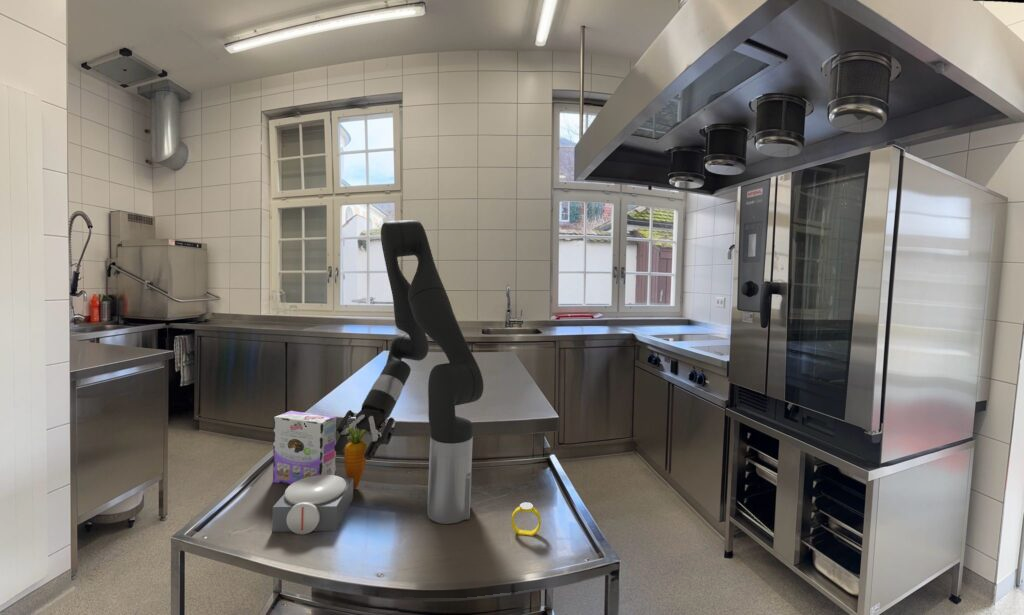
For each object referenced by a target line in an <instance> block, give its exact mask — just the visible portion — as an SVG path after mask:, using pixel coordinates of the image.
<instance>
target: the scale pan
mask: <svg viewBox="0 0 1024 615" xmlns="http://www.w3.org/2000/svg"><path fill="white" fill-rule="evenodd" d="M343 478H344V477H341V476H338V475H336V474H335V475H316V476H311V477H307V478H303V479H301V480H298V481H296V482H294V483H292V484H291V485H288V487H287V488H285V491H284V494H285V499H286V501H287V502H289V503H291V504H294V505H296V504H298V503H302V502H307V503H311V504H313V505H317V504H322V503H325V502H328V501H331V500H333V499H335V498H337V497H339V496H340V495H341V494H342V493H343V492H344V491H345V489H346V482H345V480H344V479H343Z"/></svg>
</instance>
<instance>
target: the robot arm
mask: <svg viewBox="0 0 1024 615" xmlns="http://www.w3.org/2000/svg"><path fill="white" fill-rule="evenodd" d="M380 240H381V249H382V253H383V258H384V262H385V263H384V264H385V267H386V268H385V269H386V273H387V276H388V277H387V278H388V281H389V286H390V290H391V296H392V303H393V313H394V323H395V326H396V328H397V329H398V330H400V331H402V332H404V333H399V334H397V335H396V336H394V337H393V339H392V340H391V343H390V347H389V352H388V356H387V360H386V362H385V363H386V364H385V365H384V367H383V369H382V370H381V372H380V374H379V376H378V378H377V379H376V380H375V381H374V383H373V385H372V386H371V388H370V390H369V391H368V394H367V395H366V397H365V399H364V400H363V402H362V404H361V409H360V411H358V413H357V412H354V411H353V410H351V409H349V410H348V411H347V412H346V414H345V415H344V416H343V418H342V419H341V421H340V423H339V424H338V426H336V433H338V434H339V435H340V436H339V437H338V439H337V440H336V445H335V447H334V448H335V449H334V450H335V451H336V454H342V452H343V451H344V449H345V446H346V445H347V444H348V443H349V440H350V439H349V438H348V436H351V437H352V435H351V434H350V432H349V430H348V429H349V428H350V427H352V428H353V430H354V432H355V434H356V431H355V428H357V429H359V431H360V433H361V432H362V431H363V430H366V432H365V433H364V434H368V435H371V436H372V441H370V443H369V444H368V446H367V449H366V452H365V454H364V457H365V458H366V460H367V461H370V460H372V459H373V457H375V455H376V453H377V452H378V449H379V447H380V446H381V445H387V446H388V445H389V444H390V441H391V438H392V437H393V434H394V432H395V429H396V428H395V423H396V422H397V421H396V419H395V418H393V416H392V417H390V416H391V415H392V413H393V410H394V408H395V406H396V404H397V402H398V401H399V398H400V396H401V394H402V391H403V388H404V386H405V385H406V382H407V381H408V379H409V377H410V374H411V371H412V370H411V367H410V365H409V364H408V363H407V362H406V361H404V360H403V359H405V360H410V361H418V362H420V361H422V360H424V359H425V358H426V357H427V355H428V352H429V350H430V349H429V348H430V346H429V341H428V337H429V338H430V339H431V340H432V341H433V342H434V343H436V345H438V346H439V347H440V349H441V350H442V351H443V352H444V354H445V356H446V358H447V360H448V363H447V362H446V363H445V362H444V363H440V364H436V365H434V366H433V367H432V368H431V371H430V373H429V376H428V382H427V388H428V390H427V394H428V395H427V397H428V405H427V406H428V424H429V428H430V429H429V430H430V432H429V433H430V438H429V456H428V457H429V460H428V462H429V463H428V481H427V482H428V487H427V488H428V489H427V503H426V505H427V510H426V511H427V516H428V518H429V520H431V521H432V522H435V523H437V524H444V525H448V524H449V525H451V524H457V523H459V522H463V521H466V520H470V518H471V516H470V515H471V494H472V492H471V491H472V464H473V463H472V462H473V444H474V442H473V440H474V424H473V422H472V421H471V420H470V419H468V418H465V417H461V416H458V415H456V406H460V405H465V404H470V403H473V402H474V403H475V402H476V401H479V400H480V398H482V396H483V394H484V380H483V375H482V371H481V369H480V366H479V364H478V362H477V360H476V358H475V357H474V355H473V353H472V351H471V349H470V346H469V345H468V343H467V341H466V339H465V336H464V334H463V333H462V332H463V331H462V330H461V327H460V325H459V323H458V321H457V318H456V315H455V312H454V311H453V308H452V304H451V302H450V299H449V296H448V293H447V291H446V288H445V286H444V284H443V282H442V278H441V277H440V274H439V272H438V269H437V266H436V264H435V261H434V257H433V252H432V249H431V246H430V243H429V239H428V236H427V233H426V231H425V227H424V226H423V224H422V223H421V221H420V220H417V219H406V220H405V219H404V220H390V221H385V222H383V223H382V224H381V227H380ZM409 256H410V257H411V256H415V257H416V259H417V267H416V271H415V274H414V276H413V278H412V281H411V283H410V282H409V281H408V280H407V277H405V276H404V273H403V272H402V270H401V268H400V266H399V265H400V264H399V260H398V258H402V257H409ZM351 417H356V419H355V421H353V422H352V423H351V424H349V425H348V427H347V428H346V429H343V428H344V425H347V419H348V418H351ZM383 422H384V423H386V424H385V425H384V429H383V432H382V431H381V432H378V430H379V429H380V430H381V429H382V428H383V427H382V426H380V425H381V424H382V423H383ZM381 427H382V428H381ZM352 438H353V437H352Z"/></svg>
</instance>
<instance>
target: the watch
mask: <svg viewBox="0 0 1024 615" xmlns="http://www.w3.org/2000/svg"><path fill="white" fill-rule="evenodd" d="M520 512H523V513H531V512H532V513H533V514H534V515H536V516H535V517H537V519H538V523H537V525H536V527H535V528H534V529H532V530H528V529H527V530H525V529H519V527H517V525H516V524H515V523H516V522H515V516H516V515H517V513H520ZM541 519H542V518H541V514H540V512H539V511H538V509H536V507H534V505H533V504H532V503H531V502H522V503H520V504H519V506H517V507H516V508H515V509H514V511H513V512H512V515H511V520H510V524H511V527H512V529H513V532H515V533H516V534H517V535H518V536H519V535H521V536H528V537H529V536H530V537H534V535H536V534H537V533H538V532H539V531H540V529H541V523H542V520H541Z"/></svg>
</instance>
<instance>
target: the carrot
mask: <svg viewBox="0 0 1024 615" xmlns="http://www.w3.org/2000/svg"><path fill="white" fill-rule="evenodd" d="M355 428H356V429H355V431H356V434H355V432H354V430H353V428H352V427H350V428H349V429H348V430H349V432H350V434H351V435H352V437H351V436H348V438H349V439H348V440H350V441H348V442H347V444H346V446H345V447H344V449H343V451H344V456H343V457H344V468H345V470H344V471H345V475H346V478H353V490H354V489H356V488H357V487H358V485H359V484H360V482H361V481H362V477H363V475H364V470H365V466H366V462H367V461H366V460H367V459H366V458H365V457H364V454H365V452H366V450H367V448H368V446H367V444H366V443H365V442H364V441H363V440H362V439H363V436H365V434H366V433H365V432H366V430H363V431H362V432H360V433H359V429H357V427H355Z"/></svg>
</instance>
